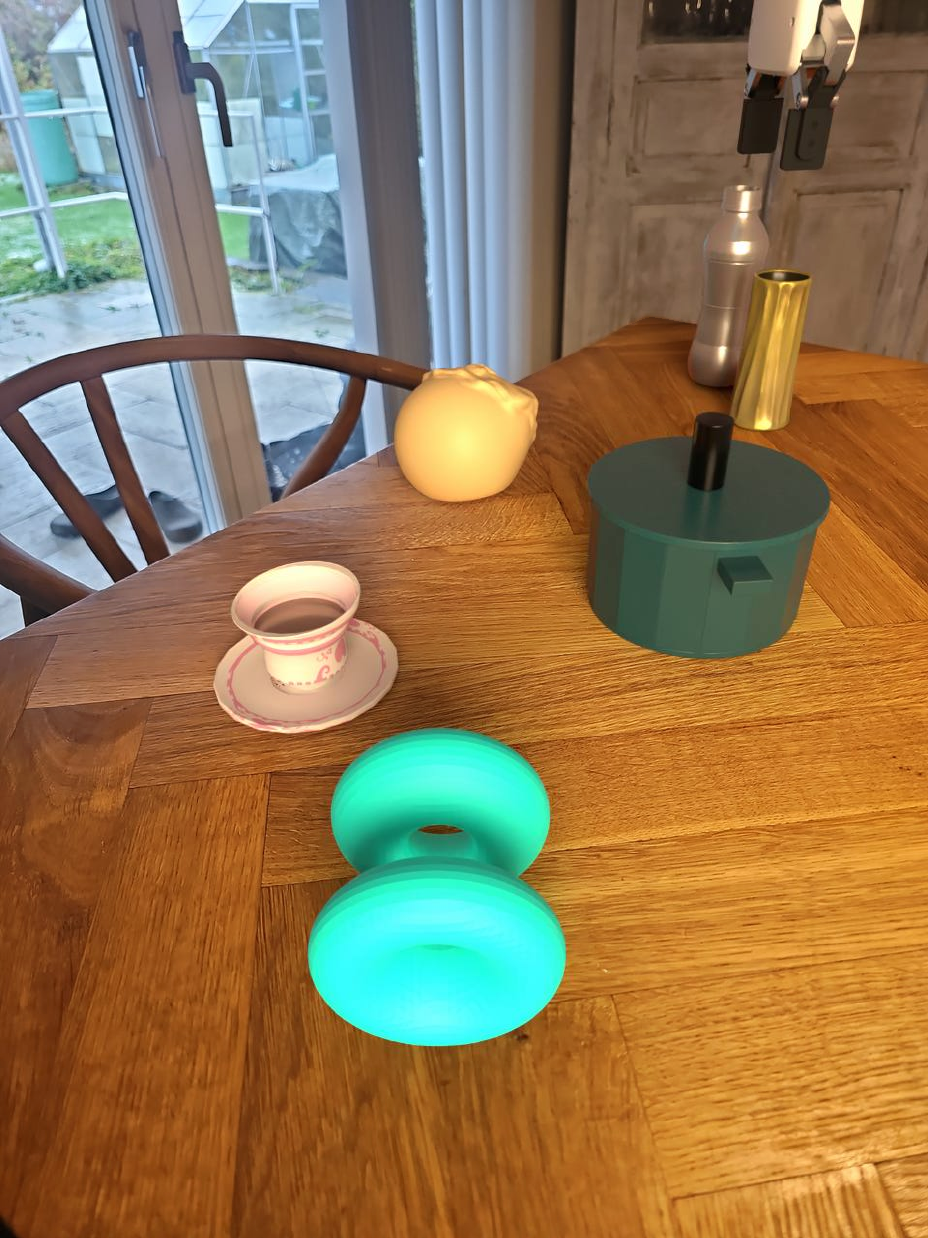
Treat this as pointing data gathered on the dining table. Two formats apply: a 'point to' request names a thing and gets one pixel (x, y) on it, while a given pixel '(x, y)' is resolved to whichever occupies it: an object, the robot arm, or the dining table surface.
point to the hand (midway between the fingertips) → (776, 160)
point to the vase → (770, 349)
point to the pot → (693, 592)
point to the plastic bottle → (728, 286)
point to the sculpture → (464, 433)
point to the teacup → (303, 652)
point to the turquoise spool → (438, 893)
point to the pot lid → (708, 490)
